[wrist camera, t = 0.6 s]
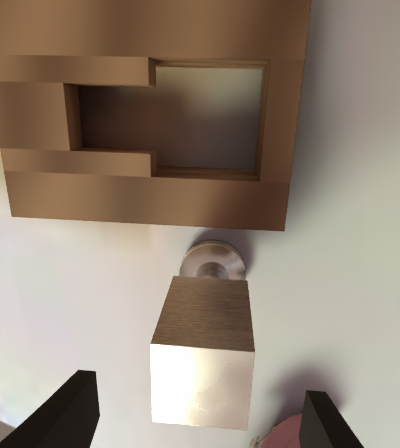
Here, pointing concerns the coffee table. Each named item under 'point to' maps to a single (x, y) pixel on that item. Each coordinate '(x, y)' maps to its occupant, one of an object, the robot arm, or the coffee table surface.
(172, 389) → the steel peg
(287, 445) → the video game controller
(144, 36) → the keyhole plate
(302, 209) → the coffee table surface
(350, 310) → the coffee table surface
